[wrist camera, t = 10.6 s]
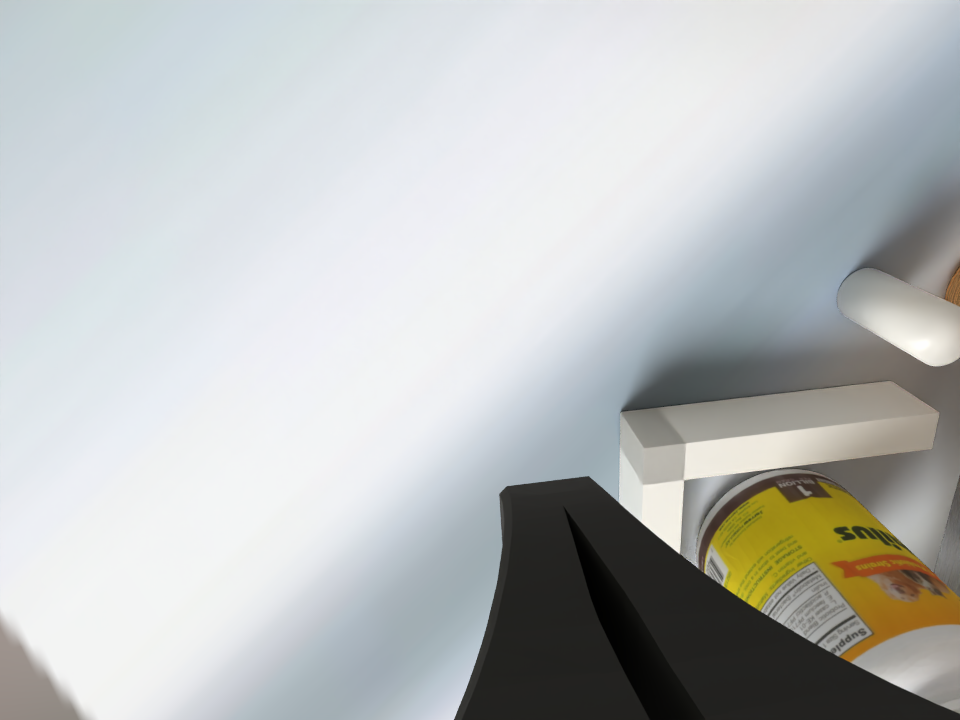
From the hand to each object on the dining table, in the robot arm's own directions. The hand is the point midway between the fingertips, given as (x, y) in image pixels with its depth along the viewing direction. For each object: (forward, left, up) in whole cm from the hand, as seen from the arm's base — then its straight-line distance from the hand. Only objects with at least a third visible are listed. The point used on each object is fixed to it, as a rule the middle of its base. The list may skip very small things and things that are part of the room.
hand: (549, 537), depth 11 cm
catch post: (-1, -12, -10) cm, 16 cm away
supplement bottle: (-9, -10, -11) cm, 17 cm away
